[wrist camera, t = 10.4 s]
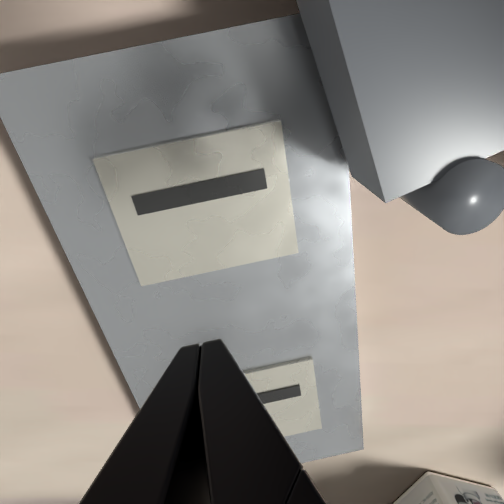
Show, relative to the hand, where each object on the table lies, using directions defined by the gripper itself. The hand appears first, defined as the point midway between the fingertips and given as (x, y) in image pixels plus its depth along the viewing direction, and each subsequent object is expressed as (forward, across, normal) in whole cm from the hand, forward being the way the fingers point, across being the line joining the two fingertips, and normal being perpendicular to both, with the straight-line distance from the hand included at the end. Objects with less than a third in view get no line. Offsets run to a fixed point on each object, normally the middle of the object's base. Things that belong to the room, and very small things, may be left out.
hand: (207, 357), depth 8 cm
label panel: (+10, 0, +6) cm, 12 cm away
